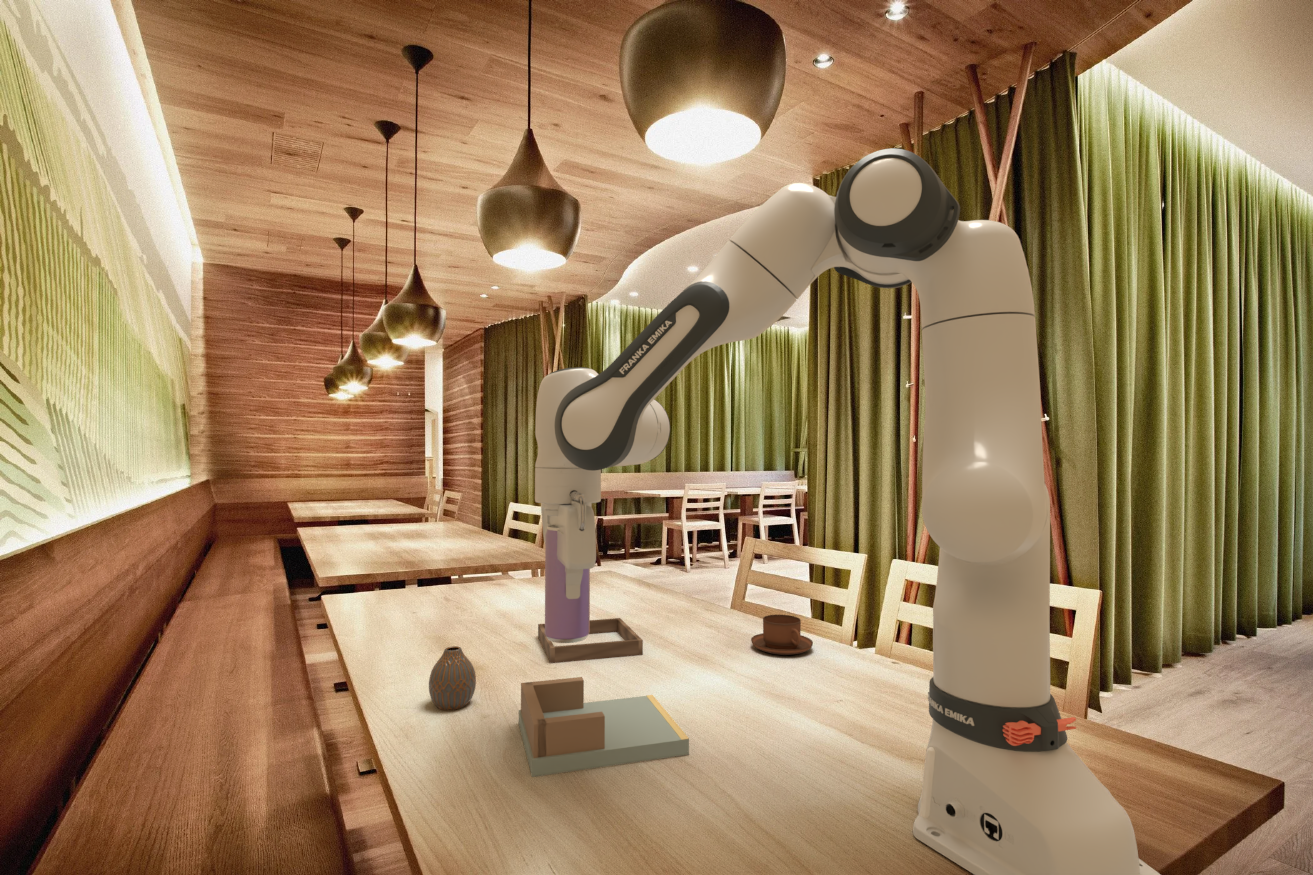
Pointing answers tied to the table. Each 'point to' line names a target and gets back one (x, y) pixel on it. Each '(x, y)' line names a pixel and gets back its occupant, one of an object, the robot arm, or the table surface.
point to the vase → (452, 680)
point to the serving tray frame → (595, 650)
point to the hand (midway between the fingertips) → (567, 592)
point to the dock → (592, 729)
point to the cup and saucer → (782, 636)
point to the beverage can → (564, 598)
